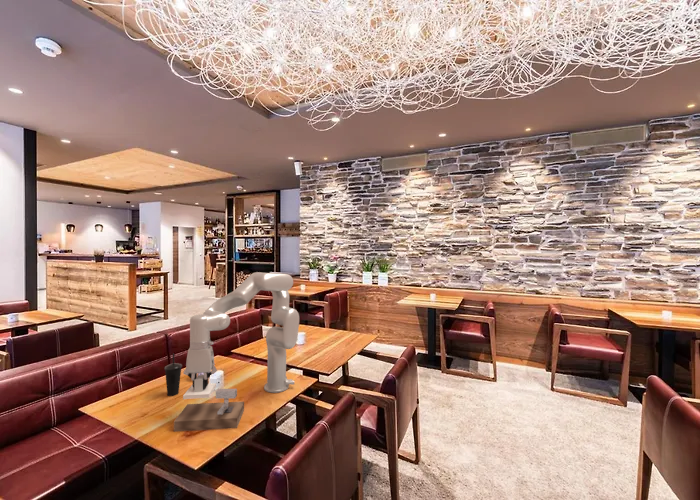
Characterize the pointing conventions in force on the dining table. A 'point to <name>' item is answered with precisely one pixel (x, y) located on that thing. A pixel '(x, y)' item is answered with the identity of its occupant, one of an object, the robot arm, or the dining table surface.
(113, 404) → the dining table surface
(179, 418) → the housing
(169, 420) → the dining table surface
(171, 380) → the drinking cup
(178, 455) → the dining table surface
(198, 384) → the cover
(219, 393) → the latch
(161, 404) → the dining table surface
